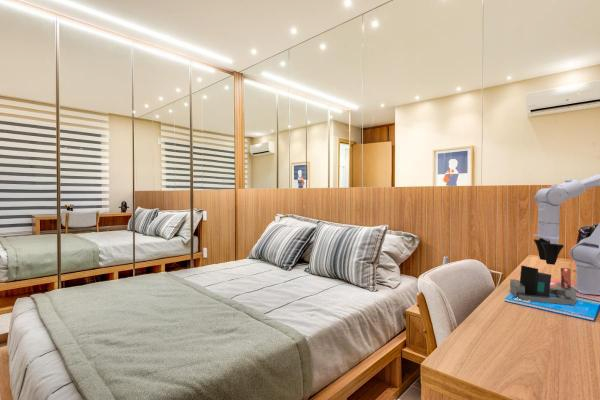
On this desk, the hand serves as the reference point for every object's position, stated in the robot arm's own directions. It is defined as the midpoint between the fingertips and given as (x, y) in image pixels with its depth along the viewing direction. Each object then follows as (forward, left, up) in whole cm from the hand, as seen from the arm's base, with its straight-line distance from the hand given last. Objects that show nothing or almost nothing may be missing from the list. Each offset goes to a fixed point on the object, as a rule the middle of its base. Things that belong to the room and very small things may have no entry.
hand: (547, 262), depth 104 cm
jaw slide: (-3, +6, -10) cm, 13 cm away
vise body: (+4, +6, -10) cm, 13 cm away
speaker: (+5, +6, -11) cm, 14 cm away
